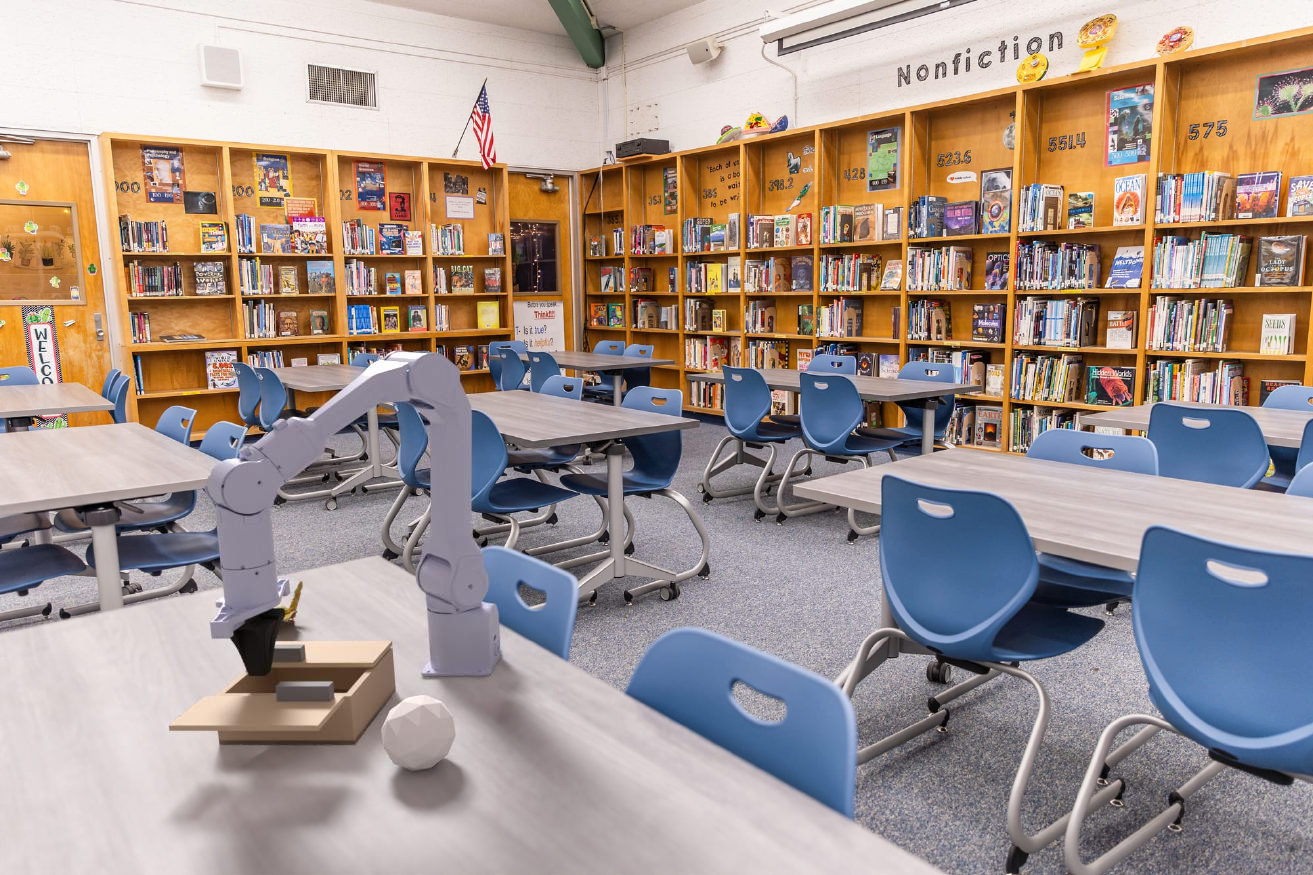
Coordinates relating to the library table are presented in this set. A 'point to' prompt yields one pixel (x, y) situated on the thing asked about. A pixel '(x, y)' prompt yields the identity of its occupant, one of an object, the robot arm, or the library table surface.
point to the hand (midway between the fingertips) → (259, 673)
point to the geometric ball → (418, 732)
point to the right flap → (328, 653)
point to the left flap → (264, 710)
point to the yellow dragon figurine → (293, 605)
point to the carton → (357, 685)
